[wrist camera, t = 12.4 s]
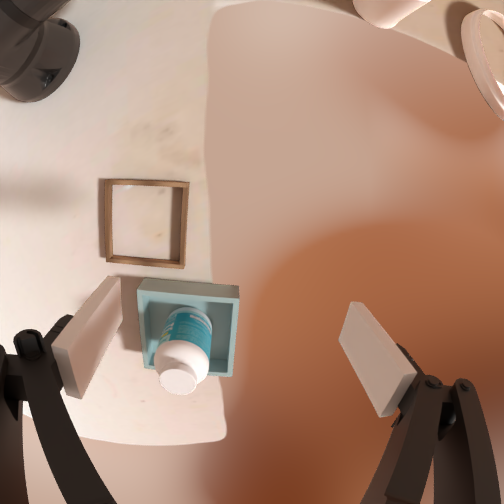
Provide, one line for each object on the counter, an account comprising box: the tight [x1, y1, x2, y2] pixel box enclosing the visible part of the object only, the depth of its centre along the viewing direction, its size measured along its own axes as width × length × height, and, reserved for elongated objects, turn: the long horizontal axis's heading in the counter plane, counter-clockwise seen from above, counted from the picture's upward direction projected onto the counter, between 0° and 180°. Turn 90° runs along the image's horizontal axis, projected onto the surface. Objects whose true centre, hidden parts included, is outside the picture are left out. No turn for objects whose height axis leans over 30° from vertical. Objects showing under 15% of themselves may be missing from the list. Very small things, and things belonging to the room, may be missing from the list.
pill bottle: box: [154, 307, 212, 395], centre depth 39 cm, size 8×7×14 cm
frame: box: [104, 179, 189, 269], centre depth 40 cm, size 12×12×2 cm
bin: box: [137, 278, 239, 377], centre depth 44 cm, size 15×15×4 cm
